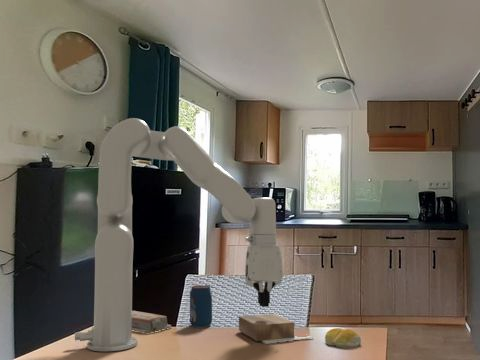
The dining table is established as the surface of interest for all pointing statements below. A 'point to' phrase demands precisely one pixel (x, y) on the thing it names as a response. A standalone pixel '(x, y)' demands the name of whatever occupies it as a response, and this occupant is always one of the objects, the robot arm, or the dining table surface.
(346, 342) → the bread roll
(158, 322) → the packaged product
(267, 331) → the wooden block
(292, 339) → the mat
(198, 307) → the soda can
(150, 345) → the dining table surface
